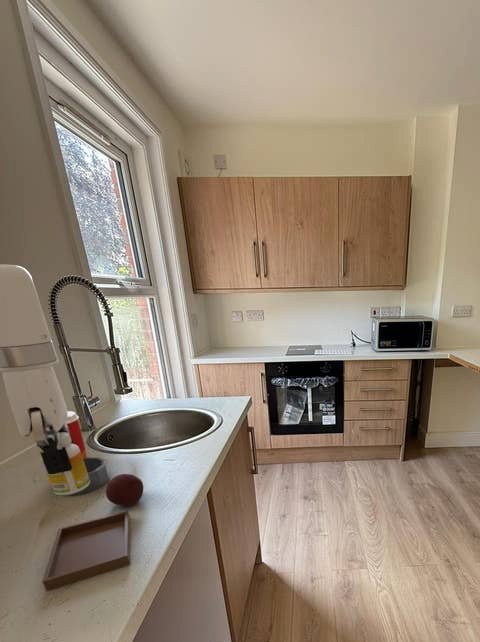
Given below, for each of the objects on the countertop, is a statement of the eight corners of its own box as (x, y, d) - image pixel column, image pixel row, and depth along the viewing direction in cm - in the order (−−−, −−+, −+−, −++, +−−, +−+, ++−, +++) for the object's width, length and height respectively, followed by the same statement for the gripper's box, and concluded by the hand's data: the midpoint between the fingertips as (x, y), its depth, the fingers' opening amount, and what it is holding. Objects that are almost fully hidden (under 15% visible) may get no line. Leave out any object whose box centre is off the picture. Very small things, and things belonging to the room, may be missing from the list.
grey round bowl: (51, 500, 81) (45, 484, 79) (60, 478, 91) (54, 463, 89) (108, 487, 86) (103, 471, 84) (110, 468, 95) (106, 453, 94)
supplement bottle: (88, 476, 64) (72, 427, 60) (93, 488, 60) (76, 436, 57) (52, 487, 61) (33, 436, 57) (55, 500, 57) (35, 446, 53)
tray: (46, 591, 57) (42, 581, 56) (61, 536, 69) (58, 528, 68) (130, 564, 62) (127, 555, 61) (130, 518, 74) (128, 510, 73)
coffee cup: (60, 463, 99) (42, 413, 93) (94, 456, 102) (79, 408, 96) (55, 476, 92) (35, 423, 86) (91, 469, 95) (75, 417, 89)
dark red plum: (130, 489, 85) (123, 464, 82) (153, 498, 81) (146, 472, 78) (100, 505, 79) (92, 478, 76) (123, 515, 75) (115, 487, 72)
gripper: (9, 350, 57) (46, 449, 64) (-30, 370, 43) (23, 494, 50) (64, 346, 60) (93, 441, 67) (44, 363, 46) (84, 481, 53)
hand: (63, 463), depth 59 cm, fingers closed on supplement bottle, 5 cm apart
